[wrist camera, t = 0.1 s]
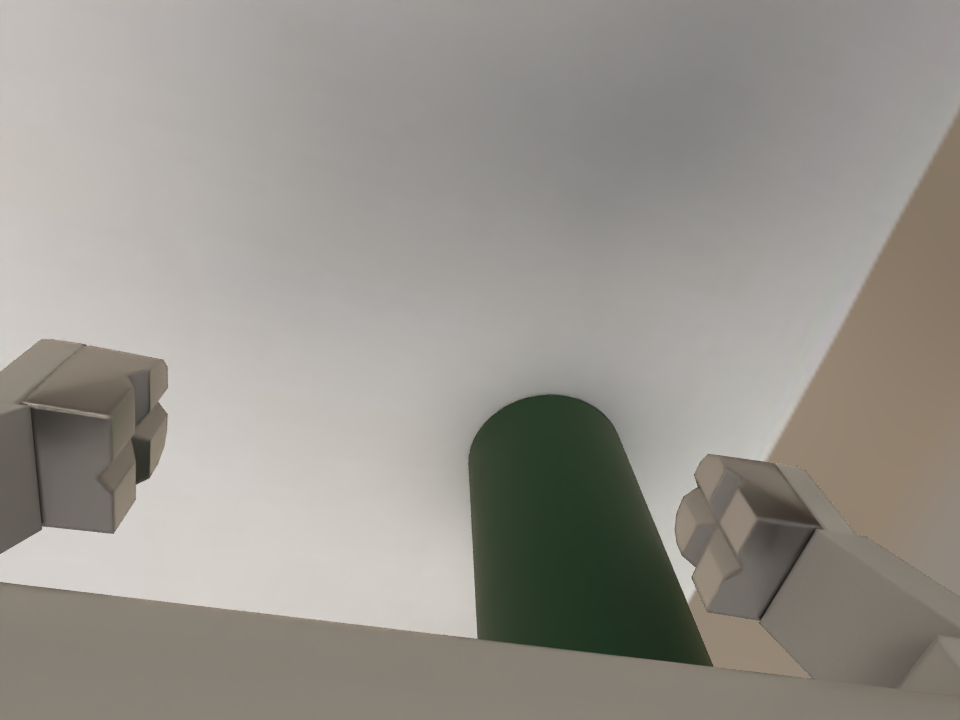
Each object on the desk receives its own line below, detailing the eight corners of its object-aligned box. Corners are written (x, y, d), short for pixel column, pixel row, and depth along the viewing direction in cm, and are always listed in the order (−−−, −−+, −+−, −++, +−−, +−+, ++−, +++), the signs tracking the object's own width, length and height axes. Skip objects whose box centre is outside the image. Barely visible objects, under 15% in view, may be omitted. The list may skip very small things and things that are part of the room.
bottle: (449, 417, 26) (458, 1266, 8) (606, 376, 25) (968, 1191, 8) (491, 533, 29) (562, 1339, 11) (632, 498, 28) (937, 1290, 11)
